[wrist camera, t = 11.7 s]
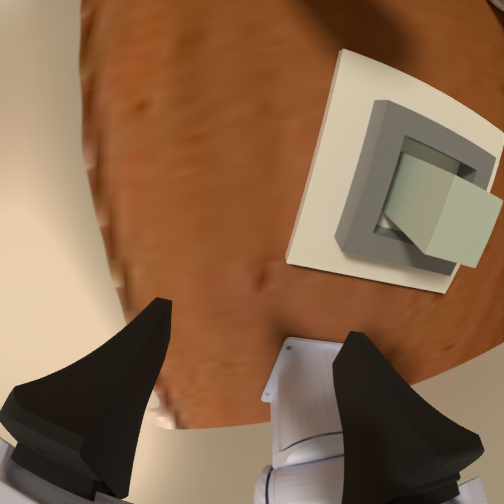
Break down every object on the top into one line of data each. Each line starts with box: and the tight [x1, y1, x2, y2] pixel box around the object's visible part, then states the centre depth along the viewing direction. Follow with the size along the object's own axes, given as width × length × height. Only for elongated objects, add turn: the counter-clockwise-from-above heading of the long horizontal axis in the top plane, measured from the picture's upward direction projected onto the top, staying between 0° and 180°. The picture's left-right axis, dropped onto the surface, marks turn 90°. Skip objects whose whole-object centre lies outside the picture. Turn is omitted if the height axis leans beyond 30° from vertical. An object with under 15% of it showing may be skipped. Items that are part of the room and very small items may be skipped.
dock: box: [285, 49, 504, 293], centre depth 16 cm, size 14×14×3 cm
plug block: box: [381, 152, 503, 268], centre depth 14 cm, size 4×4×6 cm
